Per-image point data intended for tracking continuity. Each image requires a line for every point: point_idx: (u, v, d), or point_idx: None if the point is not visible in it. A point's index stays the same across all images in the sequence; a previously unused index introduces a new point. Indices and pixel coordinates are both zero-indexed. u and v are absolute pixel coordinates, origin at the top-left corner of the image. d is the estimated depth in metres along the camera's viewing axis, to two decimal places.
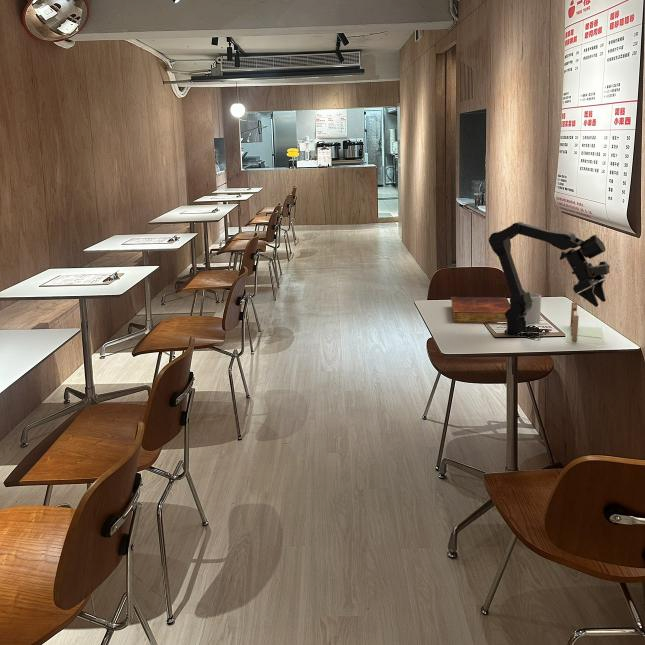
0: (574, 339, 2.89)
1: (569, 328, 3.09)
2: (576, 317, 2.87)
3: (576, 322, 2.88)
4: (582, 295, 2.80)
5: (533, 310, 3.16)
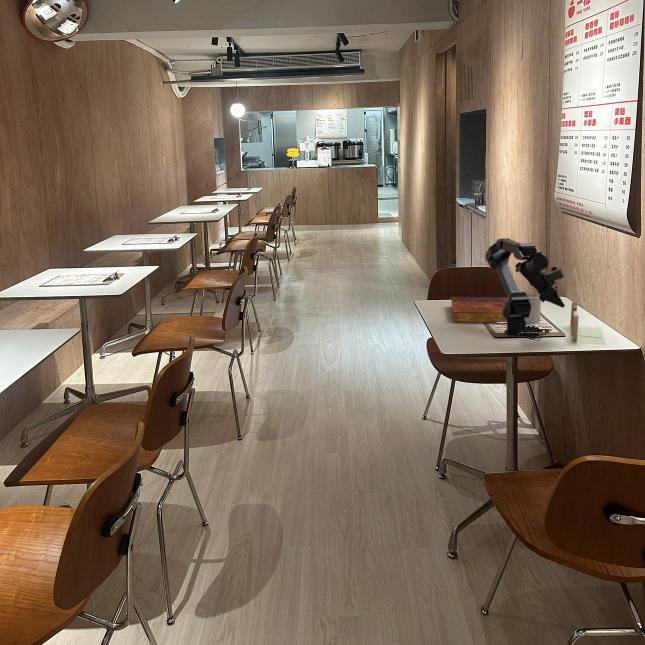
0: (574, 339, 2.89)
1: (569, 328, 3.09)
2: (576, 317, 2.87)
3: (576, 322, 2.88)
4: (548, 300, 2.89)
5: (533, 310, 3.16)
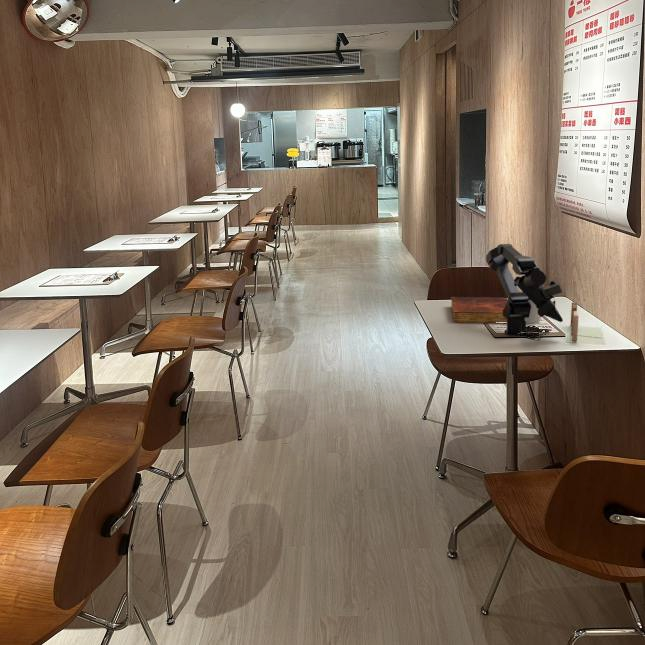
0: (574, 339, 2.89)
1: (569, 328, 3.09)
2: (576, 317, 2.87)
3: (576, 322, 2.88)
4: (546, 314, 2.91)
5: (533, 310, 3.16)
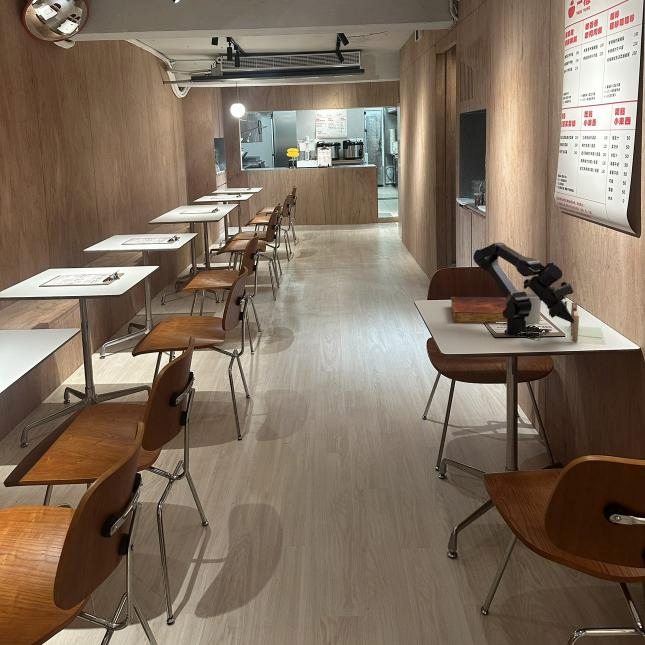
0: (575, 339, 2.89)
1: (569, 328, 3.09)
2: (576, 317, 2.87)
3: (576, 322, 2.88)
4: (558, 315, 2.89)
5: (533, 310, 3.16)
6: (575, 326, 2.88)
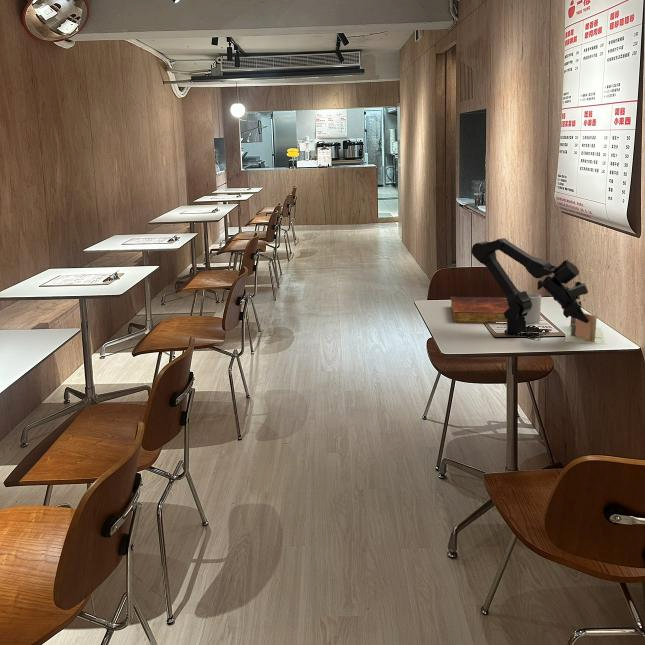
0: (594, 338, 2.90)
1: (569, 328, 3.09)
2: (596, 316, 2.88)
3: (595, 322, 2.88)
4: (572, 315, 2.89)
5: (533, 310, 3.16)
6: (594, 326, 2.88)
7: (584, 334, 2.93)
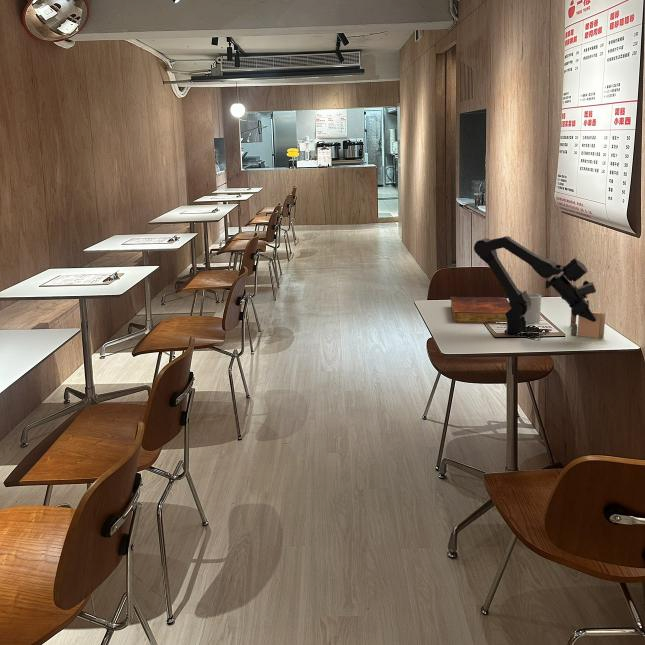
0: (603, 336, 2.93)
1: (569, 328, 3.09)
2: None
3: (604, 319, 2.92)
4: (579, 314, 2.91)
5: (533, 310, 3.16)
6: (604, 323, 2.92)
7: (590, 332, 2.95)
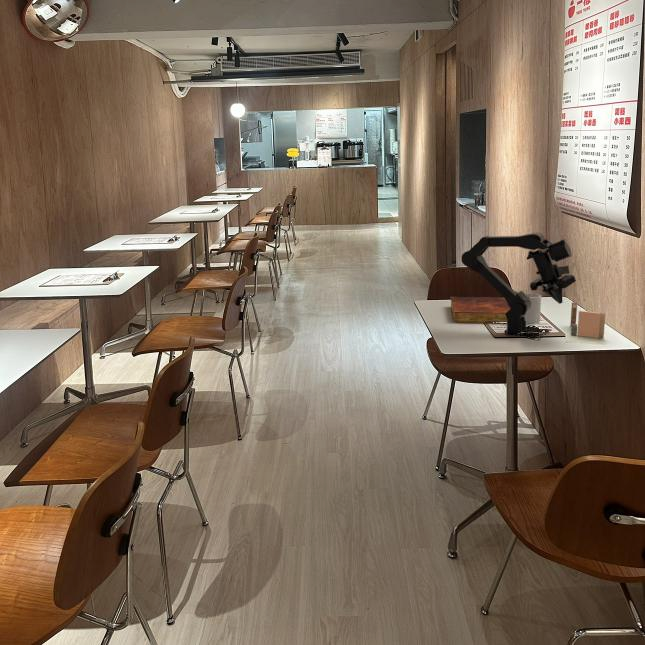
0: (603, 336, 2.93)
1: (569, 328, 3.09)
2: None
3: (604, 319, 2.92)
4: (555, 291, 2.94)
5: (533, 310, 3.16)
6: (604, 323, 2.92)
7: (590, 332, 2.95)
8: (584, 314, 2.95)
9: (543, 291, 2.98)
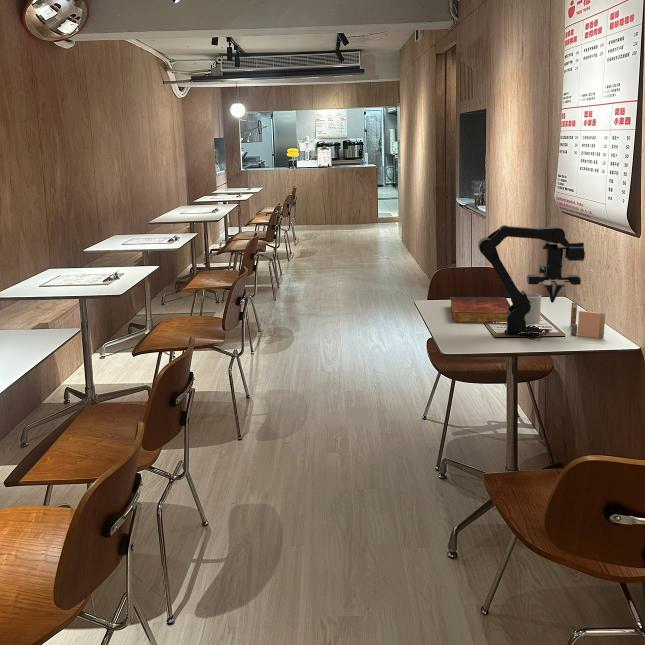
0: (603, 336, 2.93)
1: (569, 328, 3.09)
2: None
3: (604, 319, 2.92)
4: None
5: (533, 310, 3.16)
6: (604, 323, 2.92)
7: (590, 332, 2.95)
8: (584, 314, 2.95)
9: (546, 286, 2.96)
